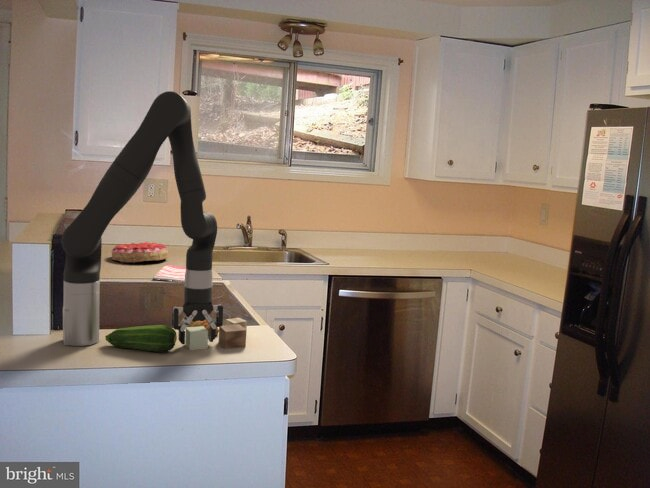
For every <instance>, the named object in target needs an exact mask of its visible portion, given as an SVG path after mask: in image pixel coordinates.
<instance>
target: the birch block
mask: <svg viewBox="0 0 650 488" xmlns="http://www.w3.org/2000/svg"><path fill="white" fill-rule="evenodd" d="M238 324H240V325H241V326H242V327H243V328H244V329H246V332H247V327H248V320H245V319H243V318H241V317H233V318H227V319H225V325H238Z"/></svg>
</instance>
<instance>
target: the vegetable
mask: <svg viewBox="0 0 650 488" xmlns="http://www.w3.org/2000/svg"><path fill="white" fill-rule="evenodd" d="M104 337H105V341H107V342H108V343H109V344H110V345H112V346H113V348H115V347H116V349H117V348H118V349H131V350H132V349H133V350H140V351H147V352H153V353H166V352H170V351H171V350H172V349H174V348H175V346H176V342H177V340H178V338H177V337H178V334H177V332H176V330H175V329H174V328H173V327H172V326H168V325H165V324H154V325H141V326H131V327H121V328H116V329H115V330H113V331H112V332H110V333H108V334H106V335H105V336H104Z"/></svg>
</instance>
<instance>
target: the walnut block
mask: <svg viewBox="0 0 650 488" xmlns="http://www.w3.org/2000/svg"><path fill="white" fill-rule="evenodd" d="M218 329H219V332H218V343H219V344H220V345H221V346H222V347H223V349H225V350H226V349H235V348H236V349H237V348H246V346H247V345H246V343H247V331H246V329H244V328H243V327H242V326H241V325H240V324H238V325H226V324H225V325H224V324H223V325H222V326H221V327H220V326H219V327H218Z"/></svg>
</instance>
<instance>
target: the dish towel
mask: <svg viewBox="0 0 650 488" xmlns="http://www.w3.org/2000/svg"><path fill="white" fill-rule="evenodd" d="M185 272H186V266H185V267H184V266H175V265H172V264H165V265H164V266H163V267H162V268H161V269H160V270H158V271H157V273H156V274H154V275H153V276H152V280H153V279H160V280H172V281H171V282H173V281H182V282H181V283H184V281H185Z"/></svg>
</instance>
